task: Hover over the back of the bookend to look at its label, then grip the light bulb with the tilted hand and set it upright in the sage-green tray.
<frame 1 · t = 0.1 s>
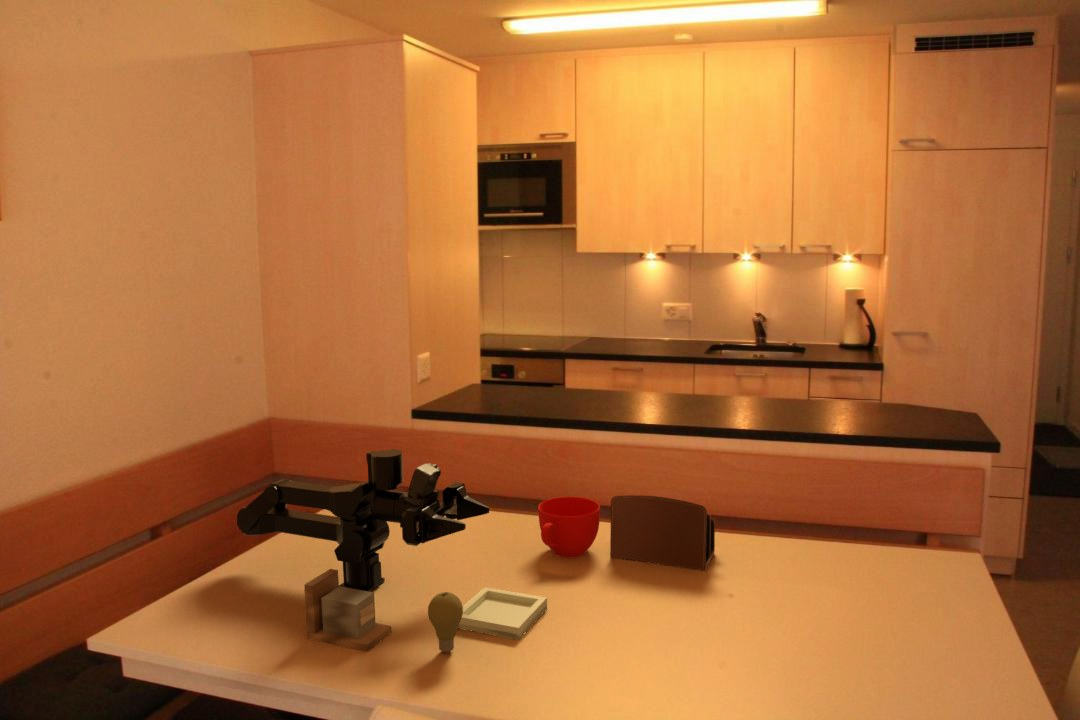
hand: (477, 518, 149), 17 cm above the table, tool horizontal, fingers open, 9 cm apart
tray: (500, 618, 147), on the table
ceramic cup: (564, 556, 175), on the table
bookend: (349, 635, 141), on the table
letter holder: (662, 557, 174), on the table
light bulb: (446, 653, 136), on the table
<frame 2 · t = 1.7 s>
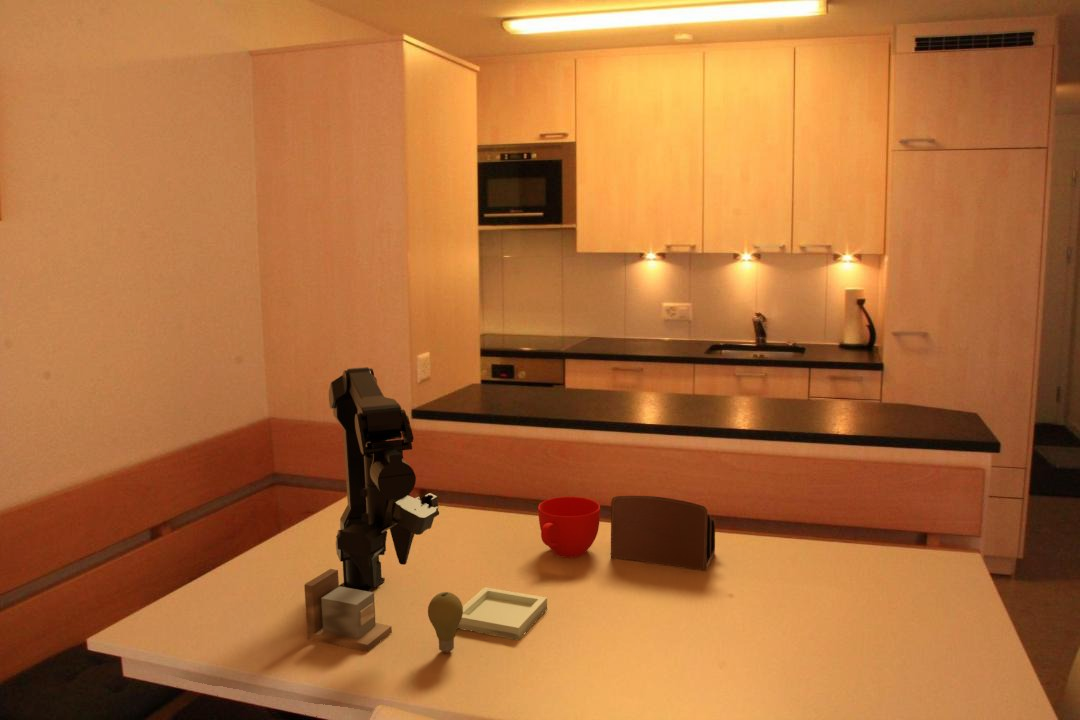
hand: (387, 574, 137), 12 cm above the table, tool pointing down, fingers open, 9 cm apart
nothing on the table moved.
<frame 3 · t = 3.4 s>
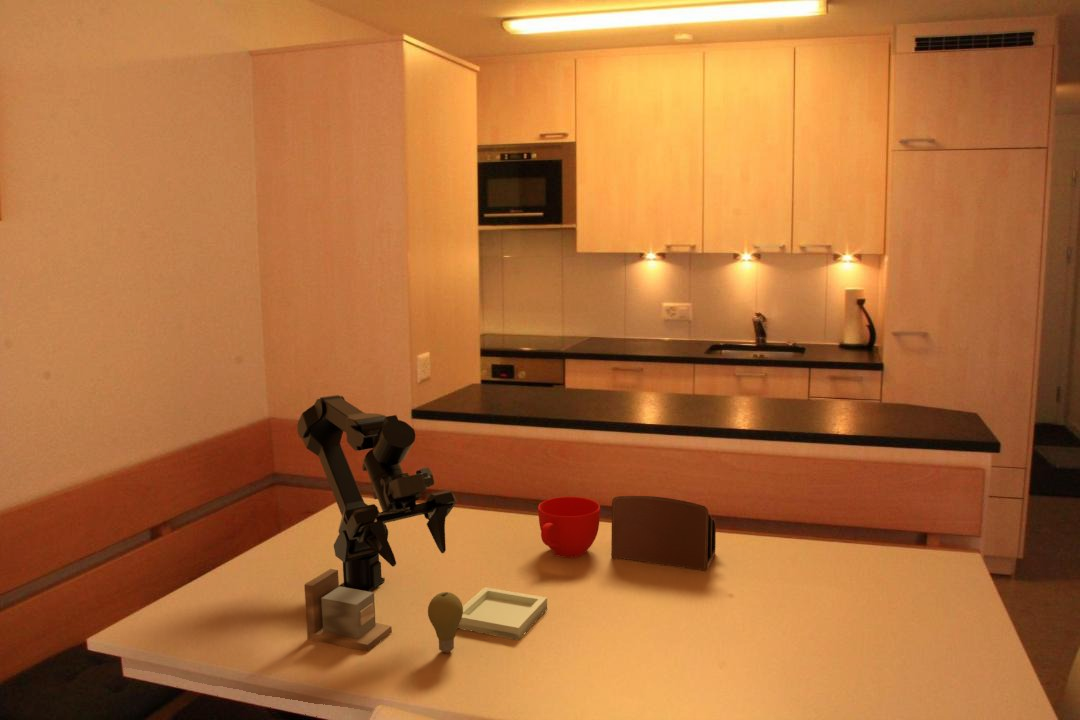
hand: (419, 558, 140), 13 cm above the table, tool tilted 45°, fingers open, 9 cm apart
nothing on the table moved.
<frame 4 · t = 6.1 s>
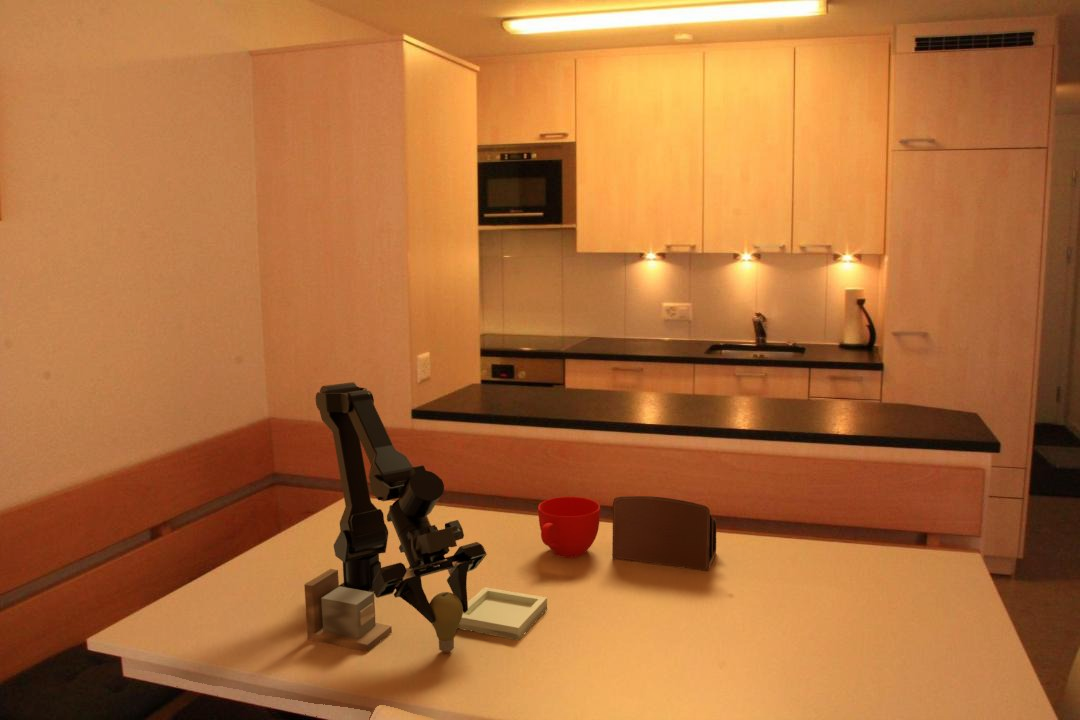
hand: (450, 616, 133), 7 cm above the table, tool tilted 45°, fingers closed on light bulb, 6 cm apart
light bulb: (446, 653, 136), on the table, touching gripper
everything else where it was.
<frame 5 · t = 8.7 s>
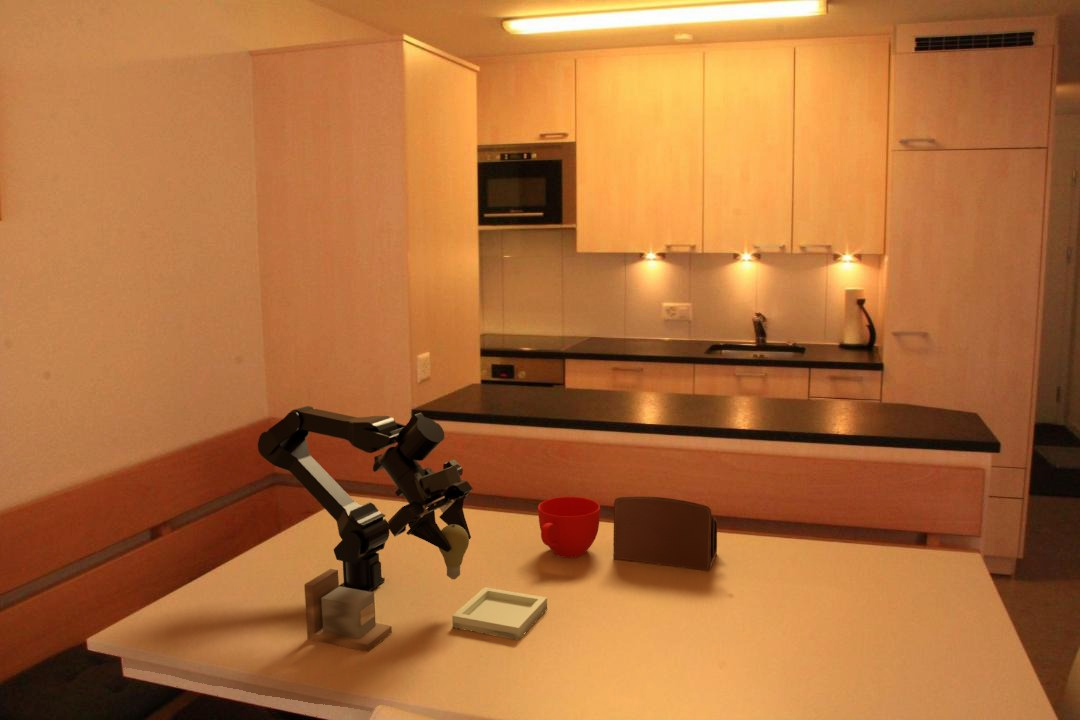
hand: (459, 544, 149), 12 cm above the table, tool tilted 45°, fingers closed on light bulb, 6 cm apart
light bulb: (453, 579, 150), point 5 cm above the table, touching gripper
everything else where it was.
when the fingers open (9 cm above the table, at t = 11.1 s): light bulb drops 1 cm, resting on tray.
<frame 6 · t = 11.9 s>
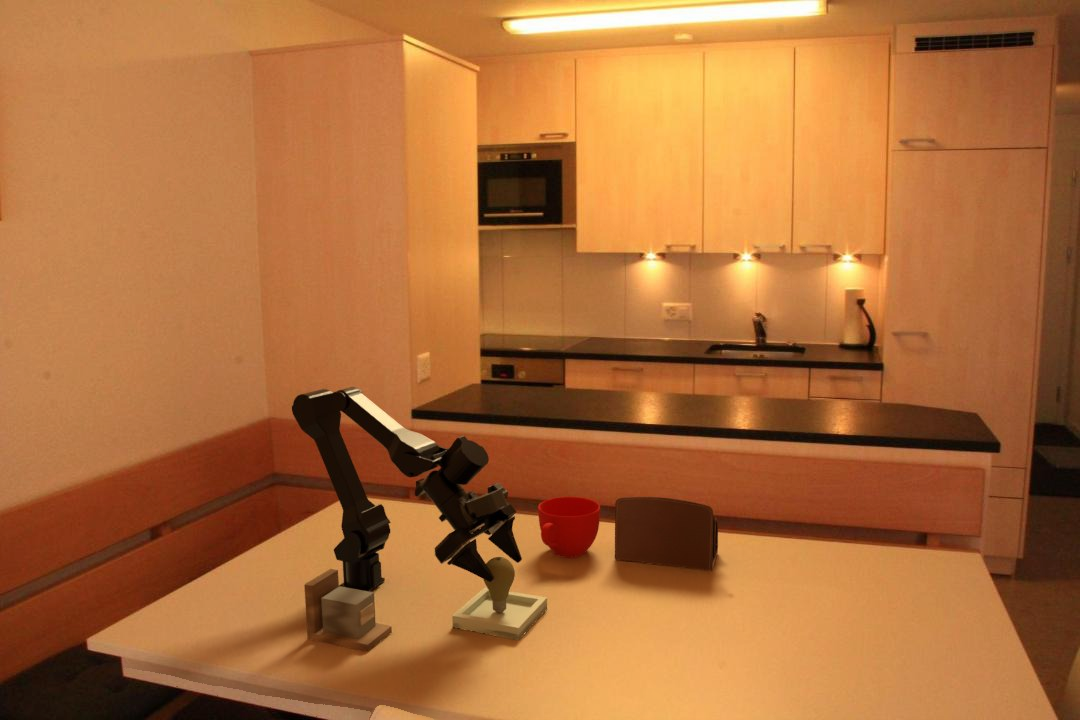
hand: (506, 570, 145), 9 cm above the table, tool tilted 45°, fingers open, 9 cm apart
light bulb: (499, 613, 147), point 1 cm above the table, touching tray
everything else where it was.
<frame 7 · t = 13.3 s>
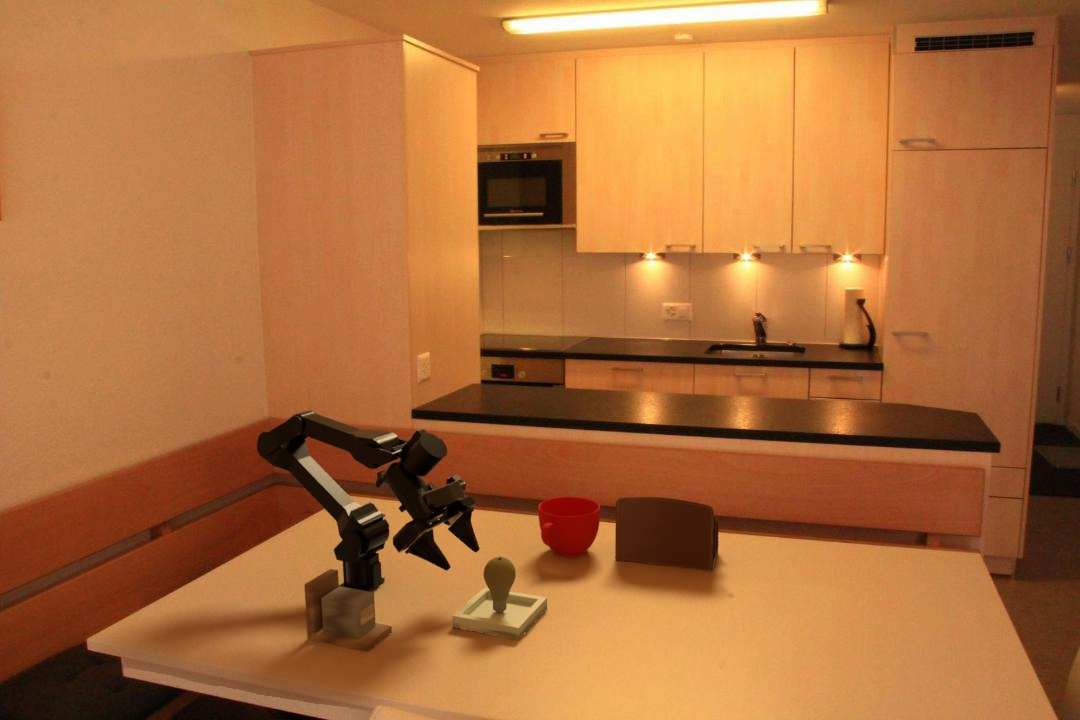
hand: (463, 559, 149), 9 cm above the table, tool tilted 45°, fingers open, 9 cm apart
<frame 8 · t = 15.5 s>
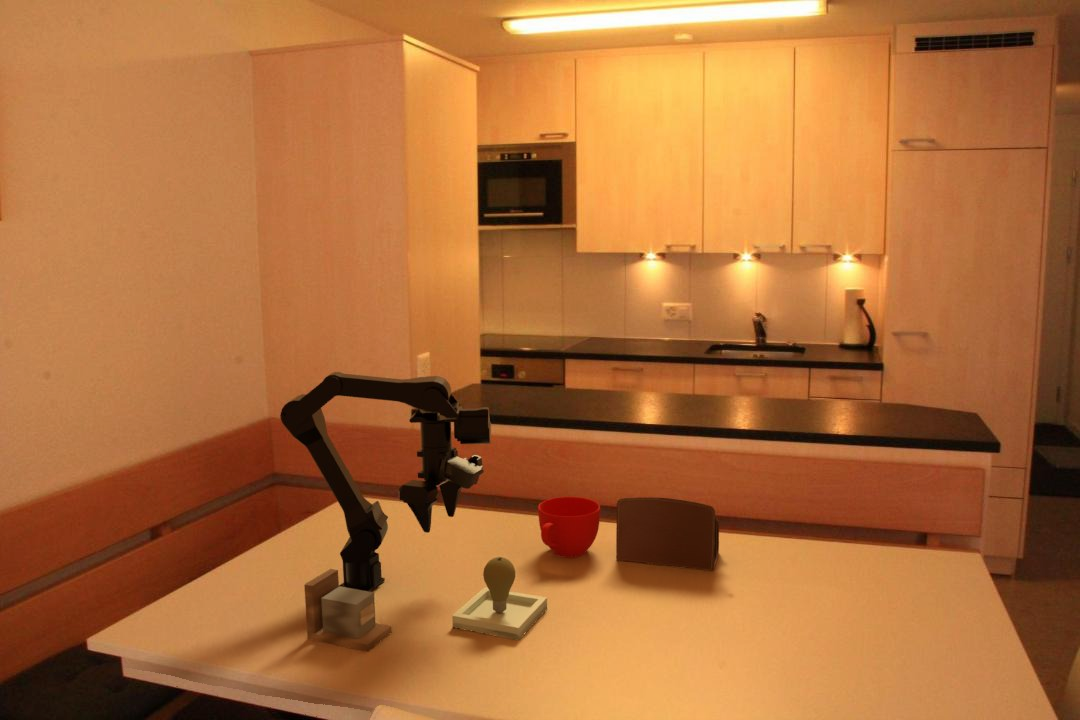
hand: (439, 524, 160), 12 cm above the table, tool pointing down, fingers open, 9 cm apart
at the end: light bulb inside the target area on the tray (0.2 cm from its centre), point 0.8 cm above the tray's base; light bulb tilted 1°; the gripper is holding nothing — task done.
